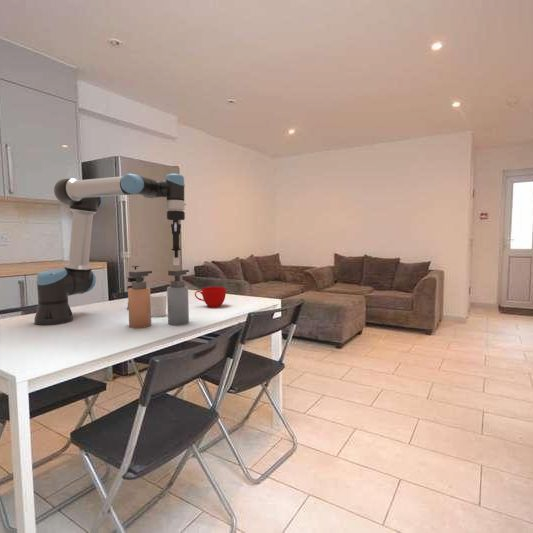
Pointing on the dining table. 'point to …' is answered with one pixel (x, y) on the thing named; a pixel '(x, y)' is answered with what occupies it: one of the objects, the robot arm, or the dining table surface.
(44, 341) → the dining table surface
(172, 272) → the slate pump head
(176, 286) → the slate pump bottle
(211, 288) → the ceramic cup
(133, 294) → the terracotta pump bottle
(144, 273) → the grey dispenser pump
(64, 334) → the dining table surface
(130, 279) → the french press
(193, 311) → the dining table surface
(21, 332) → the dining table surface
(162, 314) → the white cup
